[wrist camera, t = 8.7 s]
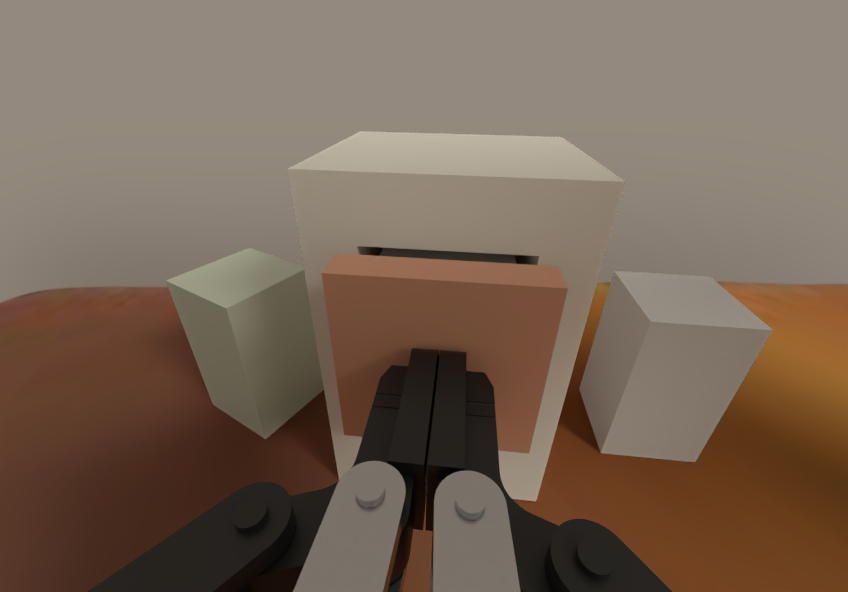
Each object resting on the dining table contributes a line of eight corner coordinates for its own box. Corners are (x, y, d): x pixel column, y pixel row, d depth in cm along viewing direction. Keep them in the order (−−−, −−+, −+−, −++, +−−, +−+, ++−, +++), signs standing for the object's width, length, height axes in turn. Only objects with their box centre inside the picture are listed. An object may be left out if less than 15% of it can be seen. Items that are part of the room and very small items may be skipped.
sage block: (327, 386, 23) (308, 267, 19) (265, 439, 20) (226, 308, 15) (276, 360, 25) (249, 247, 21) (212, 404, 22) (165, 280, 17)
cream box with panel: (376, 365, 24) (360, 131, 17) (517, 377, 24) (561, 137, 17) (339, 479, 18) (287, 169, 10) (536, 501, 17) (625, 181, 10)
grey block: (656, 395, 23) (710, 276, 18) (695, 462, 19) (772, 329, 15) (579, 389, 23) (614, 271, 19) (600, 453, 19) (650, 321, 15)
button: (393, 295, 20) (389, 182, 17) (506, 302, 20) (522, 187, 17) (344, 435, 12) (321, 273, 9) (528, 453, 12) (568, 288, 9)
